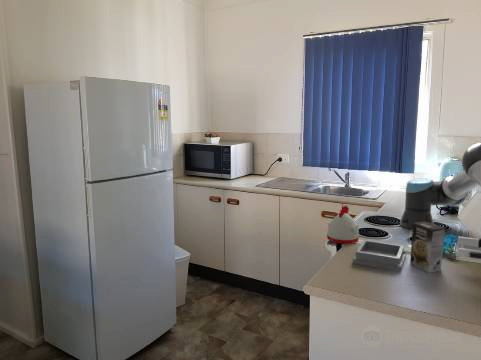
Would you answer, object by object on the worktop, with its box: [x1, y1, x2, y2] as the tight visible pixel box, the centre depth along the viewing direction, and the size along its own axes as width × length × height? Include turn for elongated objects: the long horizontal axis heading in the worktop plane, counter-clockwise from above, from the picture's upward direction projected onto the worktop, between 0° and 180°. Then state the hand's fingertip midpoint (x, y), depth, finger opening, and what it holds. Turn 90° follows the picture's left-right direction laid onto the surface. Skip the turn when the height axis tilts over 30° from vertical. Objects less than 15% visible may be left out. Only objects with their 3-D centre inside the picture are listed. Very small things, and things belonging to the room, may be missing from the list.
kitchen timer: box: [326, 205, 360, 245], centre depth 174 cm, size 14×14×15 cm
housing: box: [352, 239, 407, 272], centre depth 150 cm, size 17×17×4 cm
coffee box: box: [409, 221, 446, 274], centre depth 141 cm, size 9×6×16 cm
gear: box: [443, 233, 458, 258], centre depth 156 cm, size 11×6×10 cm
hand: (457, 245), depth 137 cm, fingers open, 13 cm apart
